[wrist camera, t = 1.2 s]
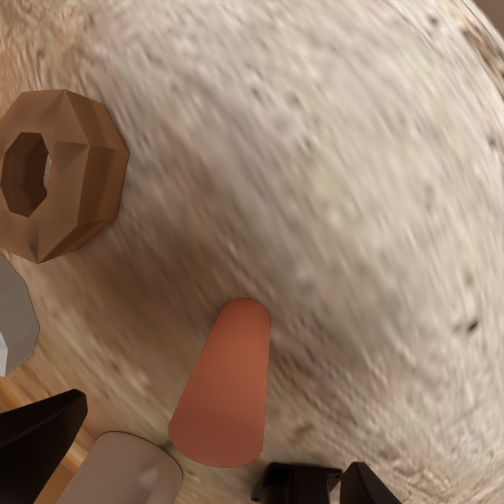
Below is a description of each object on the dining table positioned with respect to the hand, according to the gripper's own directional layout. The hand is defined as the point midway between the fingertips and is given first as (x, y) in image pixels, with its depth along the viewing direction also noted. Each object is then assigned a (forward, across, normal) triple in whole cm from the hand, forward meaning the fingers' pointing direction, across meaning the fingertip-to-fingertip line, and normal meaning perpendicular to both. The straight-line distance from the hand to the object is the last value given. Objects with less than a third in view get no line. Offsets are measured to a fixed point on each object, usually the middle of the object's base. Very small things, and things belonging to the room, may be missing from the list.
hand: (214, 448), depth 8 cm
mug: (+10, +5, +16) cm, 19 cm away
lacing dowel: (+9, 0, 0) cm, 9 cm away
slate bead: (+9, +20, +6) cm, 23 cm away
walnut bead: (+9, +13, -6) cm, 17 cm away
